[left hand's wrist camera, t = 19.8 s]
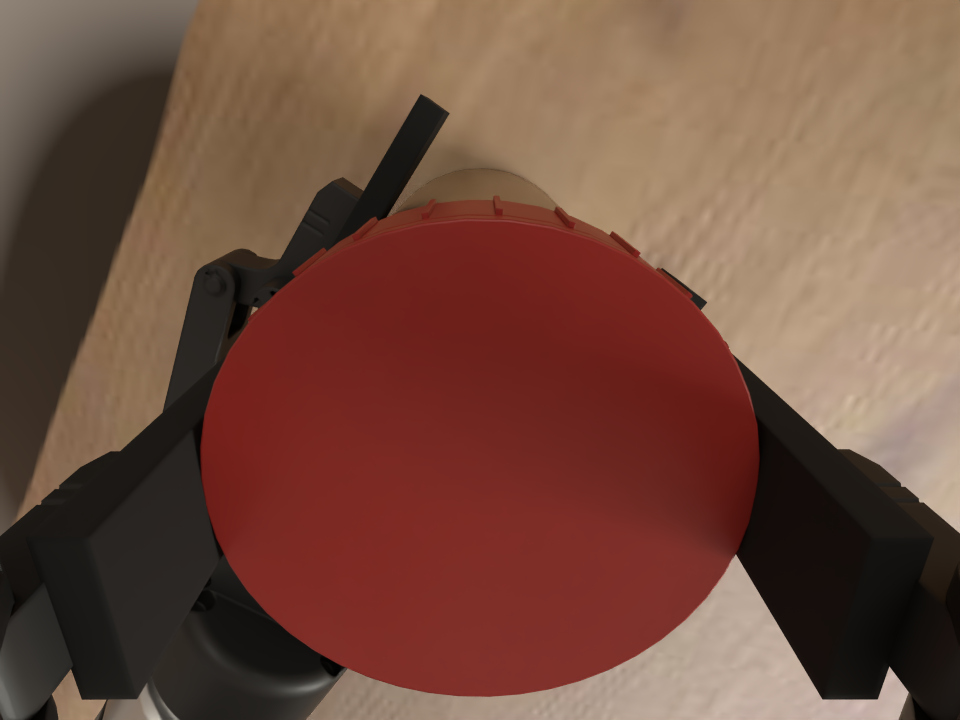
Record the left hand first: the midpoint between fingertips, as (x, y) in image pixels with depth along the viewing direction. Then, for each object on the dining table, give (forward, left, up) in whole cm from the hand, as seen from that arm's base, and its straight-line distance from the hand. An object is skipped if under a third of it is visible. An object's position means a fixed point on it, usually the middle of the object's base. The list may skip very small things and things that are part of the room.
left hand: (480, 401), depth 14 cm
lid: (0, 0, +3) cm, 3 cm away
